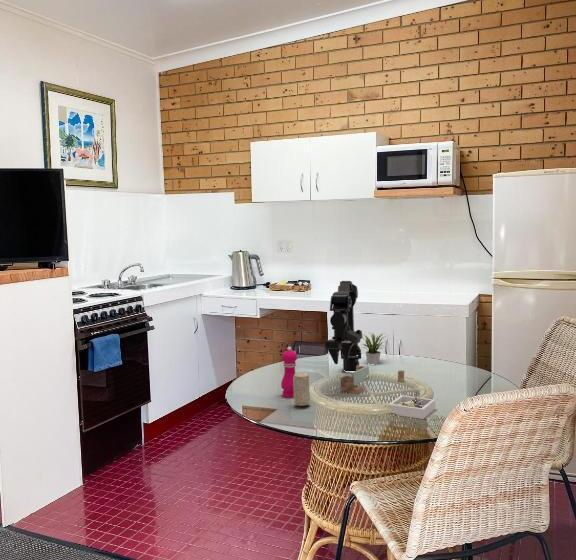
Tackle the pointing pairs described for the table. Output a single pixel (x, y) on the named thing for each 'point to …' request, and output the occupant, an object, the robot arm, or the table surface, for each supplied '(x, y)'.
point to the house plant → (373, 349)
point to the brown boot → (350, 386)
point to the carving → (301, 389)
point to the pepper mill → (288, 372)
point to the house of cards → (418, 401)
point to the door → (360, 375)
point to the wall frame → (400, 373)
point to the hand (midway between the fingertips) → (341, 361)
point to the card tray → (412, 411)
